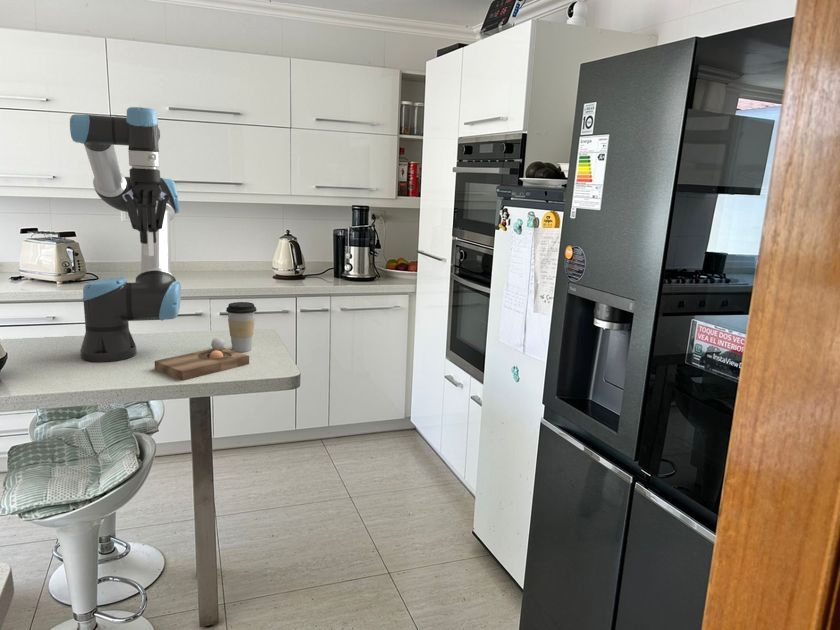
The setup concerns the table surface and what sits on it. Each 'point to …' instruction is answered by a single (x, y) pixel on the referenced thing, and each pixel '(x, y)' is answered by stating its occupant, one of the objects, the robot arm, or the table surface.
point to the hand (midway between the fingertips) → (148, 255)
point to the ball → (216, 354)
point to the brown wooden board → (200, 363)
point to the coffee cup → (241, 325)
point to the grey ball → (218, 344)
